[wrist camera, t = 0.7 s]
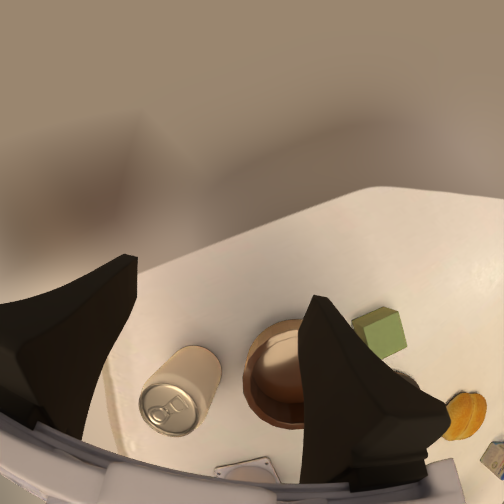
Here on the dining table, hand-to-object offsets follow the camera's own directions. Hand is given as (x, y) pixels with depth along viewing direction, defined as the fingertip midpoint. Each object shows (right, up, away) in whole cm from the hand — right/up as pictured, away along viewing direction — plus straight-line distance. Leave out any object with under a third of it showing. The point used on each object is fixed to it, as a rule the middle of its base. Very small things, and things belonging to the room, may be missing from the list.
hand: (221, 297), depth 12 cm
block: (+16, -8, +22) cm, 29 cm away
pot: (+6, -12, +22) cm, 26 cm away
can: (-6, -13, +23) cm, 27 cm away
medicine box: (+48, -36, +20) cm, 63 cm away
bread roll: (+33, -23, +21) cm, 46 cm away
